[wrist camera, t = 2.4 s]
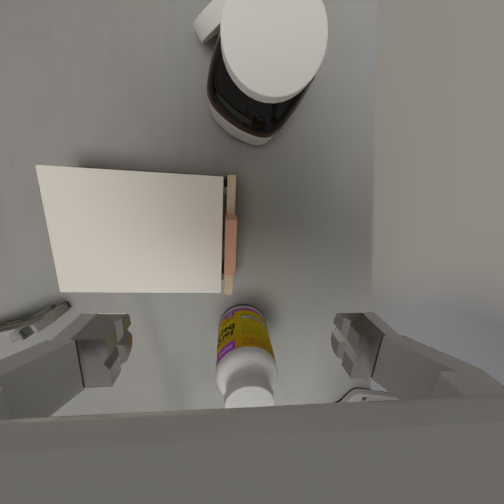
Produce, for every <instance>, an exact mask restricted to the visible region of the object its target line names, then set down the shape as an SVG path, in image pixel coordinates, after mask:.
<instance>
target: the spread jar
mask: <svg viewBox="0 0 504 504" xmlns="http://www.w3.org/2000/svg"><path fill="white" fill-rule="evenodd" d="M192 27H193V28H194V30H195V32H196V34H197V36H198V37H199V39H200V41H201V43H202V44H203V43H205V42H207V41H208V40H210V39H211V38H213V37H214V36H215V35H217V34H218V33H219V32H220V33H219V36H218V39H217V42H216V45H215V49H214V52H213V56H212V60H211V64H210V69H209V75H208V82H207V100H208V104H209V108H210V112H211V114H212V116H213V118H214V119H215V121H216V122H217V123H218V124H219V125H220V126H221V127H222V128H223V129H224V130H225V131H227V132H228V133H229V134H231V135H232V136H234V137H235V138H237V139H239V140H241V141H243V142H245V143H248V144H251V145H256V146H260V145H263V144H265V143H267V142H268V141H269V140H270V139H271V138H272V137H273V136H274V135H275V134H276V133H277V132H278V131H279V130H280V129H281V128H282V126H283V125H284V124H285V123H286V121H287V120H288V119H289V117H290V116H291V115H292V113H293V112H294V110H295V109H296V108H297V106H298V105H299V103H300V101H301V100H302V98H303V97H304V95H305V93H306V92H307V90H308V88H309V86H310V84H311V82H312V81H313V79H314V76H315V74H316V73H317V71H318V70H319V68H320V66H321V63H322V61H323V59H324V56H325V52H326V48H327V41H328V20H327V15H326V10H325V6H324V4H323V1H322V0H212V1H211V2H210V3H209V4H208V5H207V7H206V8H205V9H204V10H203V11H202V12H201V13H200V14H199V16H198V17H197V18H196V20H195V21H194V23H193V25H192Z"/></svg>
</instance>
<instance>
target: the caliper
mask: <svg viewBox="0 0 504 504" xmlns="http://www.w3.org/2000/svg"><path fill="white" fill-rule="evenodd" d="M69 309H70V308H69V306H68V304H67V303H66V302H63V303H62V304H60V305H59V306H57V307H56V306H55V305H52V306H50V307H48V308H46V309H44V310H42V311H40V312H38V313H37V314H35V315H33V316H31V317H29V318H27V319H18V320H15V321H9V322H7V323H5V324H3V325H2V326H0V340H5V339H10V338H11V339H12V340H13V342H15V341H17V340H19V339H21V338H22V340H24V339H26V338H27V337H29V336H30V335H32V334H33V333H36V332H39V331H41V330H42V329H44V328H45V327H47V326H48V325H50V324H51V323H53V322H54V321H56V320H57V319H58V318H59V317H61V316H62V315H63V314H64V313H65V312H67V311H68V310H69Z"/></svg>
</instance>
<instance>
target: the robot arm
mask: <svg viewBox="0 0 504 504" xmlns="http://www.w3.org/2000/svg"><path fill="white" fill-rule="evenodd" d="M130 324H131V322H130V316H129V315H128V314H127V313H83V314H81V315H79V316H78V317H77V318H76V319H75V320H74V321H73V322H72V323H71V324H69V325H68V326H67V327H66V328H65V329H64V330H63V331H62V332H61V333H59V334H58V335H57V336H56V337H55V338H54V339H53V340H47V341H44V342H42V343H39V344H37V345H35V346H32V347H30V348H28V349H25V350H23V351H21V352H18V353H16V354H13V355H11V356H9V357H6V358H4V359H2V360H0V504H504V386H503V385H501V384H500V383H499V382H498V381H496V380H495V379H494V378H492V377H491V376H489V375H488V374H487V373H486V372H484V371H483V370H481V369H480V368H477V367H475V366H472V365H470V364H468V363H466V362H463V361H461V360H459V359H456V358H454V357H452V356H450V355H447V354H445V353H443V352H440V351H438V350H436V349H433V348H431V347H428V346H426V345H424V344H422V343H419V342H417V341H415V340H413V339H410V338H408V337H406V336H400V335H399V334H397V333H396V332H395V331H394V330H393V329H392V328H391V327H389V326H388V325H387V324H386V323H385V322H384V321H383V320H382V319H380V318H379V317H378V316H377V315H376V314H374V313H371V312H369V313H340V314H336V316H335V319H334V324H335V326H336V328H335V329H334V330H333V331H332V336H331V344H332V348H333V351H334V353H335V354H336V356H337V357H339V358H341V359H342V366H343V367H344V369H345V370H346V372H347V373H348V375H349V376H350V378H372V379H373V380H374V381H376V382H377V383H378V384H380V385H381V386H382V387H384V388H385V389H386V390H387V391H389V392H383V391H374V390H367V389H358V388H357V389H353V390H352V391H350V392H349V393H348V394H347V395H346V396H345V397H344V398H343V399H342V400H341V401H340V402H338V403H324V404H303V405H283V406H264V407H243V408H223V409H202V410H182V411H161V412H141V413H120V414H100V415H79V416H59V417H49V416H51V415H52V414H53V413H54V412H56V411H57V410H58V409H60V408H61V407H62V406H63V405H65V404H66V403H67V402H69V401H70V400H71V399H72V398H74V397H75V396H76V395H77V394H79V393H80V392H81V391H83V390H84V388H95V387H111V386H112V385H113V384H114V382H115V380H116V378H117V377H118V375H119V373H120V371H121V367H120V365H121V364H122V363H124V362H125V361H127V359H128V357H129V355H130V351H131V348H132V334H131V333H130V332H129V331H128V330H127V329H128V327H129V326H130Z"/></svg>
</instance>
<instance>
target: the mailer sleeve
mask: <svg viewBox="0 0 504 504" xmlns="http://www.w3.org/2000/svg"><path fill="white" fill-rule="evenodd" d="M35 166H36V171H37V176H38V181H39V186H40V191H41V196H42V201H43V206H44V211H45V217H46V222H47V227H48V232H49V237H50V242H51V247H52V252H53V257H54V262H55V268H56V273H57V278H58V283H59V288H60V292H146V293H221V283H222V279H221V271H222V223H223V186H224V177H222V176H206V175H190V174H174V173H157V172H141V171H125V170H109V169H92V168H76V167H60V166H44V165H35Z"/></svg>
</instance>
